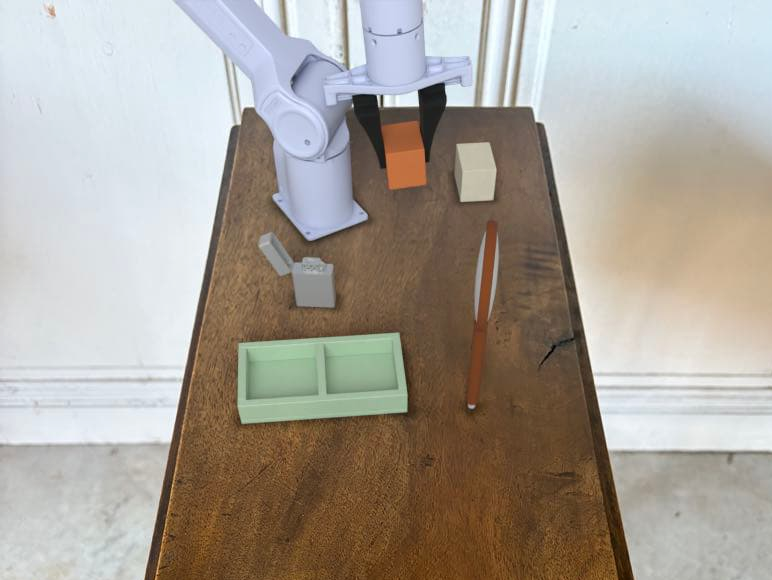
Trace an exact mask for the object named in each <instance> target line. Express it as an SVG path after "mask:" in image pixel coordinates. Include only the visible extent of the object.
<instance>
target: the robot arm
mask: <svg viewBox="0 0 772 580" xmlns="http://www.w3.org/2000/svg"><path fill="white" fill-rule="evenodd" d="M172 2H173V3H175V5H177V7H179V8H180V9H181V11H182V12H183V13H184V14H185V15H186V16H187V17H188V18H189V19H190V20H191V21H192V22H193V23H194V24H195V25H196V26H197V27H198V28H199V29H200V30H201V31H202V32H203V34H205V35H206V37H208V39H210V40H211V42H213V44H215V46H216V47H218V49H219V50H220V51H221V52H222V53H223V54H224V55H225V56H226V57H227V58H228V59H229V60H230V61H231V62H232V63H233V64H234V65H235V66H236V67H237V68H238V69H239V70H240V71H241V72H242V73H243V74H244V75H245V76H246V78H247V79H249V81H250V84H251V89H252V97H253V103H254V104H253V105H254V110H255V113H256V114H257V115H258V116H259V117H261V119H262V120H263V121H264V122H265V123H266V125H267V126H268V128H269V130H270V132H271V135H272V136H273V143H272V153H273V158H274V166H275V172H276V173H275V174H276V180H277V186H278V192H276V193H274V194H273V195H272V197H271V198H272V200H273V202H274V203H275V204H276V205H277V206H278V208H279V209H280V210H281V211H282V212H283V214H284V215H285V216H286V217H287V218H288V219H289V221H290V222H291V223H292V224H293V225H294V227H295V228H296V229H297V230H298V231H299V232H300V233H301V235H302V236H303V237H304V238H305V239H306V240H307V241H308V242H312V241H316V240H317V239H321V238H322V237H326V236H328V235H331V234H334V233H336V232H339V231H342V230H344V229H347V228H349V227H352V226H355V225H358V224H360V223H364V222H365V221H367V220H368V219H369V216H368V213H367V212H366V211H365V210H364V209H363V208H362V207H361V205H359V203H357V202H356V201H355V199H354V196H353V192H354V191H353V173H352V159H351V141H350V131H349V128H348V125H347V115H346V114H347V112H349V110H350V109H351V108H352V106H353V113H354V116H355V118H356V120H357V122H358V123H359V124H360V126H361V127H362V128H363V130H364V132H365V133H366V135H367V137H368V139H369V141H370V143H371V145H372V147H373V149H374V152H375V154H376V156H377V157H376V158H377V161H378V164H379V169H380V170H384V169H385V170H386V158H385V152H384V146H383V141H382V133H381V126H382V123H381V122H382V121H381V112H380V107H379V100H378V96H401V95H406V94H407V95H408V94H410V93H413V92H417V98H418V100H417V101H418V110H419V128H420V132H421V137H422V141H423V145H424V151H425V164H427V163H430V161H431V152H432V146H433V141H434V137H435V134H436V131H437V127H438V125H439V122H440V120H441V118H442V116H443V114H444V112H445V110H446V107H447V103H448V98H447V96H448V95H447V92H446V87H447V86H455V85H460V86H461V87H463V88H465V87H472V86H473V64H472V60H471V58H470V56H469V55H465V56H433V55H431V56H430V55H426V43H425V41H426V40H425V26H424V25H425V24H424V23H425V22H424V21H425V20H424V2H423V0H359V10H360V18H361V27H362V38H363V45H364V54H365V64H362V65H359V66H355V67H352V68H350V69H347V68H346V67H345V66H344V65H343V64H342V63H341V62H340V61H338V60H337V59H335V58H333V57H331V56H329V55H326V54H325V53H323V52H322V51H321V50H319V49H318V48H317V47H316V46H315V45H314V44H313V42H312V41H311V40H309V39H306V38H300V37H294V36H289V35H287V34H286V33H285V32H283V30H281V28H280V27H279V26H278V25H277V24H276V23H275V21H274V20H273V19H271V17H270V16H269V15H268V13H266V12H265V10H263V9H262V8H261V6H260V5H259V4H258V3H257V2H256V0H172Z"/></svg>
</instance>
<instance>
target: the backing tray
mask: <svg viewBox="0 0 772 580" xmlns="http://www.w3.org/2000/svg"><path fill="white" fill-rule="evenodd" d="M400 334H401V333H400V332H385V333H372V334H371V333H370V334H355V335H354V334H353V335H340V336H338V335H337V336H325V337H309V338H293V339H279V340H264V341H263V340H262V341H248V342H247V341H246V342H238V346H237V347H238V348H237V349H238V351H237V352H238V354H237V358H238V359H237V400H236V401H237V402H236V403H237V405H236V406H237V411H238V414H239V419H240V422H241V424H242V425H245V424H259V423H260V424H262V423H274V422H287V421H301V420H316V419H330V418H344V417H345V418H347V417H359V416H375V415H387V414H388V415H389V414H401V413H408V405H409V404H408V402H409V401H408V398H409V397H408V395H409V394H408V388H407V387H408V386H407V379H406V372H405V364H404V356H403V349H402V343H401V335H400Z"/></svg>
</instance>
